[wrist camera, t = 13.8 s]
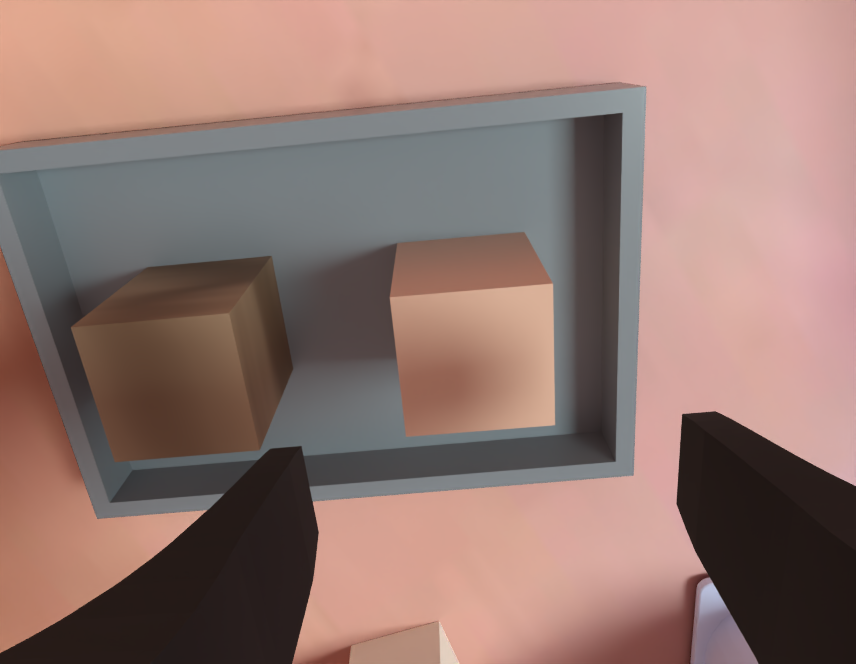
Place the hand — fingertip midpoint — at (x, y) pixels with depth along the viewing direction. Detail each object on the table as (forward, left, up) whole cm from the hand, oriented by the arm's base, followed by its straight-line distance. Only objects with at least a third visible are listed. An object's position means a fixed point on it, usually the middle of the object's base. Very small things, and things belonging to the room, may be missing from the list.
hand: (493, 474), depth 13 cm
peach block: (0, 0, -10) cm, 10 cm away
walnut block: (+8, 0, -10) cm, 13 cm away
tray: (+4, 0, -10) cm, 11 cm away
